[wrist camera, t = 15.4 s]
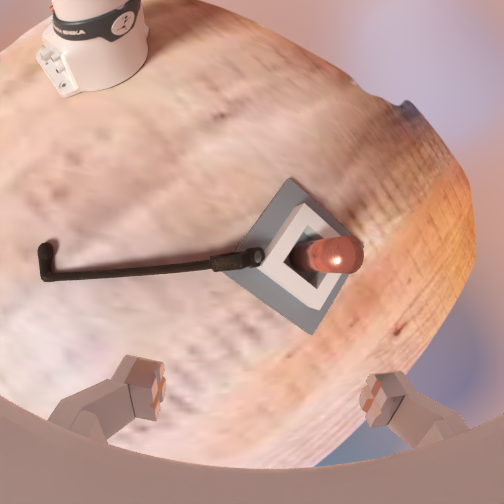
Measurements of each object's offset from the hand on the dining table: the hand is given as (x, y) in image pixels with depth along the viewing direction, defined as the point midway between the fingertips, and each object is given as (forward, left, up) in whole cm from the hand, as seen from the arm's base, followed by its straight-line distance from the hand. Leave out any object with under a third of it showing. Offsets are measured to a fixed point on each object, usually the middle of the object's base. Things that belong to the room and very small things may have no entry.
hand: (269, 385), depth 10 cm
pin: (+8, +13, -26) cm, 30 cm away
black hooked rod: (-9, 0, -27) cm, 28 cm away
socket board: (+8, +13, -27) cm, 31 cm away
